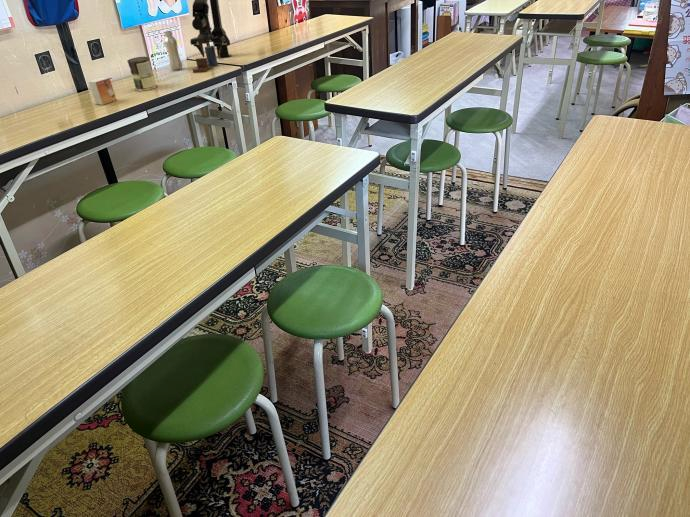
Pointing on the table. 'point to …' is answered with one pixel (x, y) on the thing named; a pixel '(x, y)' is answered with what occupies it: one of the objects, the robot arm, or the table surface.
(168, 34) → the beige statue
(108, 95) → the small box
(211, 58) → the blue box
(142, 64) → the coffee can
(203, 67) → the stand
